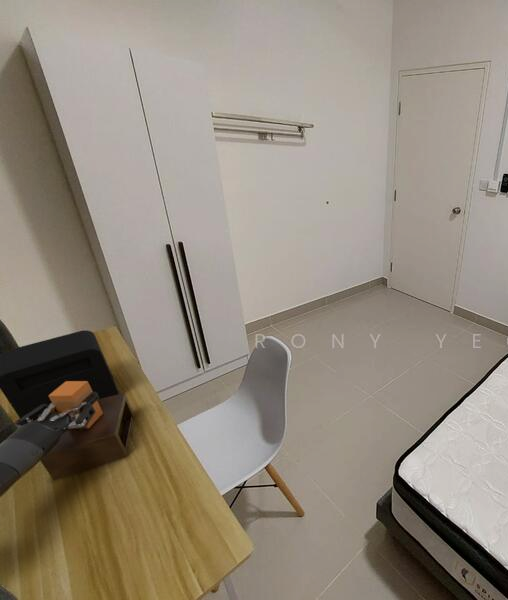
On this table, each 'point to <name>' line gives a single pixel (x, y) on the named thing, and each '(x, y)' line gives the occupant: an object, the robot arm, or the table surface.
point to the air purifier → (53, 370)
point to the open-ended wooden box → (92, 441)
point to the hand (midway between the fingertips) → (84, 394)
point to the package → (73, 398)
